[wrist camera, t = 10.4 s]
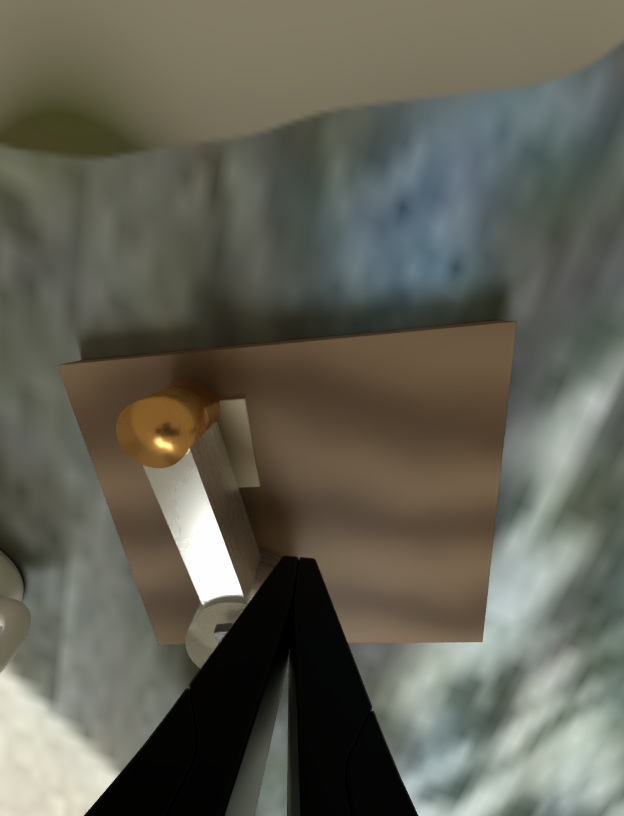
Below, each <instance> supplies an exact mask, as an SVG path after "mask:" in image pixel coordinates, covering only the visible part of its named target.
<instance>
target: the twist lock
mask: <svg viewBox="0 0 624 816" xmlns="http://www.w3.org/2000/svg"><path fill="white" fill-rule="evenodd" d="M219 417H220V403H219V400H218V397H217V395H216V394H215V392H214V391H213V390H212V389H211V388H210V387H209V386H208V385H206V384H205V383H203V382H201V381H198V380H194V379H183V380H180V381H177V382H175V383H173V384H171V385H169V386H167V387H165V388H163V389H161V390H159V391H157V392H155V393H153V394H151V395H148V396H146V397H144V398H142V399H140V400H138V401H136V402H134V403H132V404H130V405H128V406H127V407H126V408H124V409H123V410H122V412H121V413H120V415H119V416H118V419H117V423H116V434H117V438H118V440H119V443H120V445H121V447H122V448H123V450H124V451H125V452H126V453H127V454H128V455H129V456H130V457H131V458H132V459H133V460H135V461H136V462H138V463H140V464H142V465H143V467H144V469H145V472H146V474H147V476H148V479H149V481H150V483H151V486H152V488H153V491H154V493H155V495H156V498H157V500H158V502H159V505H160V507H161V509H162V512H163V514H164V516H165V519H166V521H167V523H168V526H169V528H170V530H171V533H172V535H173V537H174V540H175V542H176V544H177V547H178V549H179V551H180V554H181V556H182V558H183V561H184V563H185V566H186V568H187V570H188V573H189V575H190V577H191V580H192V582H193V584H194V587H195V589H196V591H197V594H198V596H199V598H200V601H201V602H200V604H199V606H198V609H197V611H196V613H195V616H194V618H193V620H192V622H191V625H190V627H189V629H188V631H187V634H186V638H185V646H186V650H187V653H188V655H189V657H190V659H191V660H192V661H193V662H194V664H195V665H196V666H197V667H199V668H200V669H201V667H202V666H203V665H204V663H205V662H206V660H207V659H208V658H209V656H210V655H211V654H212V652H213V651H214V649H215V648H216V647H217V645H218V644H219V643H220V641H221V640H222V638H223V637H224V636H225V634H226V633H227V632H228V630H229V629H230V627H231V626H232V625H233V623H234V622H235V620H236V619H237V618H238V616H239V615H240V614H241V612H242V611H243V609H244V608H245V607H246V605H247V604H248V603H249V601H250V600H251V598H252V597H253V596H254V594H255V593H256V592H257V590H258V589H259V587H260V586H261V585H262V583H263V582H264V581H265V579H266V578H267V576H268V575H269V574H270V572H271V571H272V570H273V568H274V567H275V565H276V564H277V563H278V561H279V560H280V559H281V557H279V556H278V555H276V554H274V553H272V552H270V551H267V550H264V549H260V548H258V546H257V543H256V540H255V537H254V534H253V531H252V528H251V525H250V522H249V519H248V515H247V512H246V509H245V506H244V503H243V500H242V497H241V494H240V491H239V488H238V485H237V482H236V479H235V476H234V473H233V470H232V467H231V464H230V460H229V457H228V454H227V451H226V448H225V445H224V442H223V439H222V436H221V433H220V430H219V427H218V424H217V421H218V419H219Z"/></svg>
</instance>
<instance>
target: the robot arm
mask: <svg viewBox="0 0 624 816" xmlns="http://www.w3.org/2000/svg"><path fill="white" fill-rule="evenodd" d="M289 650H290V654H289ZM288 658H289V685H288V773H287V816H418V814H417V812H416V810H415V807H414V805H413V803H412V801H411V799H410V797H409V794H408V792H407V790H406V788H405V786H404V783H403V781H402V779H401V777H400V774H399V772H398V770H397V767H396V765H395V762H394V760H393V757H392V755H391V753H390V750H389V748H388V745H387V743H386V740H385V738H384V735H383V733H382V730H381V728H380V725H379V722H378V720H377V717H376V715H375V712H374V711H372V705H371V702H370V699H369V697H368V694H367V692H366V689H365V686H364V684H363V681H362V679H361V676H360V673H359V671H358V668H357V666H356V663H355V660H354V658H353V655H352V653H351V650H350V647H349V645H348V642H347V639H346V637H345V634H344V632H343V629H342V626H341V624H340V621H339V619H338V616H337V613H336V611H335V608H334V606H333V603H332V600H331V598H330V595H329V593H328V590H327V587H326V585H325V582H324V580H323V577H322V574H321V572H320V569H319V566H318V564H317V561H316V560H315V559H314V558H307V557H300V559H299V558H298V557H297V556H289V555H284V556H282V557H281V559H280V560H279V561H278V563H277V564H276V565H275V567H274V568H273V570H272V571H271V572H270V574H269V575H268V576H267V578H266V579H265V581H264V582H263V583H262V585H261V586H260V587H259V589H258V590H257V592H256V593H255V594H254V596H253V597H252V598H251V600H250V601H249V603H248V604H247V605H246V607H245V608H244V609H243V611H242V612H241V614H240V615H239V616H238V618H237V619H236V620H235V622H234V623H233V625H232V626H231V627H230V629H229V630H228V632H227V633H226V634H225V636H224V637H223V638H222V640H221V641H220V643H219V644H218V645H217V647H216V648H215V649H214V651H213V652H212V654H211V655H210V656H209V658H208V659H207V660H206V662H205V663H204V665H203V666H202V667H201V669H200V670H199V671H198V673H197V674H196V676H195V677H194V678H193V680H192V681H191V682H190V684H189V688H186V689H185V690H184V692H183V693H182V695H181V696H180V697H179V699H178V700H177V701H176V703H175V704H174V706H173V707H172V708H171V710H170V711H169V712H168V714H167V715H166V716H165V718H164V719H163V720H162V722H161V723H160V724H159V725H158V727H157V728H156V729H155V731H154V732H153V733H152V735H151V736H150V737H149V739H148V740H147V741H146V743H145V744H144V745H143V746H142V747H141V749H140V750H139V751H138V752H137V753H136V755H135V756H134V757H133V758H132V760H131V761H130V762H129V763H128V764H127V766H126V767H125V768H124V769H123V770H122V772H121V773H120V774H119V775H118V776H117V778H116V779H115V780H114V781H113V782H112V784H111V785H110V786H109V787H108V788H107V789H106V791H105V792H104V793H103V794H102V795H101V796H100V798H99V799H98V800H97V801H96V802H95V803H94V805H93V806H92V807H91V808H90V809H89V810H88V812H87V813H86V814H85V815H84V816H255V812H256V808H257V803H258V798H259V794H260V789H261V785H262V780H263V775H264V771H265V766H266V761H267V757H268V752H269V748H270V743H271V738H272V734H273V729H274V724H275V720H276V715H277V711H278V706H279V701H280V697H281V692H282V687H283V683H284V678H285V674H286V669H287V663H288Z"/></svg>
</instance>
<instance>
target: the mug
mask: <svg viewBox="0 0 624 816" xmlns="http://www.w3.org/2000/svg"><path fill="white" fill-rule="evenodd" d="M23 591H24V588H23V580H22V577H21V574H20V573H19V571H18V569H17V567H16V566H15V564H14V563H13V562H12V561H11V560H10V559H9V558H8V557H7V556H6V555H5V554H4V553H3V552H2V551H1V550H0V627H1V626H3V632H2V634H1V636H0V673H1V672H2V671H3V670H4V669H5V667H6V666H7V665H8V664H9V663H10V661H11V660H12V659H13V658H14V656H15V655H16V653H17V652H18V651H19V649H20V648H21V646H22V644H23V643H24V641H25V639H26V637H27V635H28V632H29V629H30V626H31V613H30V610H29V609H28V608H27V606H26V605H25V604H24V603H22V602H21V601H22V598H23Z"/></svg>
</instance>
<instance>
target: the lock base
mask: <svg viewBox="0 0 624 816" xmlns="http://www.w3.org/2000/svg"><path fill="white" fill-rule="evenodd" d="M515 331H516V321H503V320H495V321H484V322H474V323H464V324H453V325H443V326H433V327H422V328H412V329H401V330H391V331H381V332H370V333H360V334H349V335H339V336H329V337H318V338H308V339H298V340H287V341H277V342H266V343H256V344H246V345H235V346H225V347H215V348H204V349H194V350H183V351H173V352H163V353H152V354H142V355H131V356H121V357H111V358H100V359H90V360H80V361H75V362H71V363H66V364H61V365H57V366H58V369H59V372H60V375H61V377H62V380H63V383H64V386H65V388H66V391H67V394H68V397H69V399H70V402H71V405H72V408H73V410H74V413H75V416H76V419H77V421H78V424H79V427H80V430H81V432H82V435H83V438H84V441H85V443H86V446H87V449H88V452H89V454H90V457H91V460H92V463H93V465H94V468H95V471H96V474H97V476H98V479H99V482H100V485H101V487H102V490H103V493H104V496H105V498H106V501H107V504H108V507H109V509H110V512H111V515H112V518H113V520H114V523H115V526H116V529H117V531H118V534H119V537H120V540H121V542H122V545H123V548H124V551H125V553H126V556H127V559H128V562H129V564H130V567H131V570H132V572H133V575H134V578H135V581H136V583H137V586H138V589H139V592H140V594H141V597H142V600H143V603H144V605H145V608H146V611H147V614H148V616H149V619H150V622H151V625H152V627H153V630H154V633H155V636H156V638H157V641H158V644H159V645H176V644H185V638H186V634H187V631H188V629H189V627H190V625H191V622H192V620H193V618H194V616H195V613H196V611H197V609H198V606H199V604H200V602H201V601H200V598H199V596H198V594H197V591H196V589H195V587H194V584H193V582H192V580H191V577H190V575H189V573H188V570H187V568H186V566H185V563H184V561H183V558H182V556H181V554H180V551H179V549H178V547H177V544H176V542H175V540H174V537H173V535H172V533H171V530H170V528H169V526H168V523H167V521H166V519H165V516H164V514H163V512H162V509H161V507H160V505H159V502H158V500H157V498H156V495H155V493H154V491H153V488H152V486H151V483H150V481H149V479H148V476H147V474H146V472H145V469H144V467H143V465H142V464H140V463H138V462H136V461H135V460H133V459H132V458H131V457H130V456H129V455H128V454H127V453H126V452H125V451H124V450H123V448H122V447H121V445H120V443H119V440H118V438H117V434H116V423H117V419H118V416H119V415H120V413H121V412H122V410H123V409H124V408H126V407H127V406H128V405H130V404H132V403H134V402H136V401H138V400H140V399H142V398H144V397H146V396H148V395H151V394H153V393H155V392H157V391H159V390H161V389H163V388H165V387H167V386H169V385H171V384H173V383H175V382H177V381H180V380H183V379H194V380H198V381H201V382H203V383H205V384H206V385H208V386H209V387H210V388H211V389H212V390H213V391H214V392H215V394H216V395H217V397H218V400H219V403H220V417H219V419H218V421H217V424H218V427H219V430H220V433H221V436H222V439H223V442H224V445H225V448H226V451H227V454H228V457H229V460H230V464H231V467H232V470H233V473H234V476H235V479H236V482H237V485H238V488H239V491H240V494H241V497H242V500H243V503H244V506H245V509H246V512H247V515H248V519H249V522H250V525H251V528H252V531H253V534H254V537H255V540H256V543H257V546H258V548H260V549H264V550H267V551H270V552H272V553H274V554H276V555H278V556H279V557H282V556H284V555H289V556H297V557H298V558H299V559H300V557H307V558H314V559H315V560H316V561H317V564H318V566H319V569H320V572H321V574H322V577H323V580H324V582H325V585H326V587H327V590H328V593H329V595H330V598H331V600H332V603H333V606H334V608H335V611H336V613H337V616H338V619H339V621H340V624H341V626H342V629H343V632H344V634H345V637H346V639H347V642H348V643H422V642H482V641H483V632H484V622H485V613H486V603H487V594H488V585H489V575H490V566H491V556H492V547H493V538H494V528H495V519H496V510H497V500H498V491H499V481H500V472H501V463H502V453H503V444H504V434H505V425H506V416H507V406H508V397H509V387H510V378H511V369H512V359H513V350H514V341H515Z"/></svg>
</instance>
